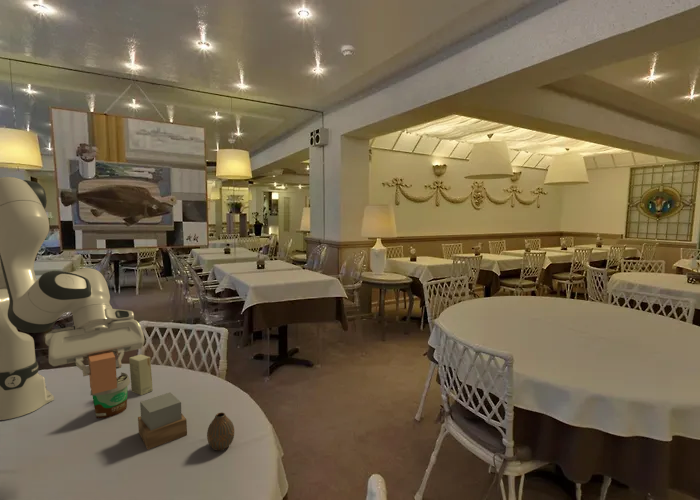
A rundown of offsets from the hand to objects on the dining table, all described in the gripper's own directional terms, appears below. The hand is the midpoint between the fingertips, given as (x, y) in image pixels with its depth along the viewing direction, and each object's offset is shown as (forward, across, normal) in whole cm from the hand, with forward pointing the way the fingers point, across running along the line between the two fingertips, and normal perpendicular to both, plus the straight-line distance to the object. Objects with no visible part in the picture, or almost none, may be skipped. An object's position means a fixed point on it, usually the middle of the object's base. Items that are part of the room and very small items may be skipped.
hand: (103, 371), depth 93 cm
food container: (-1, +6, +35) cm, 35 cm away
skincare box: (-8, +15, +42) cm, 45 cm away
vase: (+25, +24, +8) cm, 36 cm away
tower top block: (+11, +13, +15) cm, 23 cm away
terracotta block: (+3, 0, +4) cm, 4 cm away
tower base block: (+14, +14, +19) cm, 27 cm away
